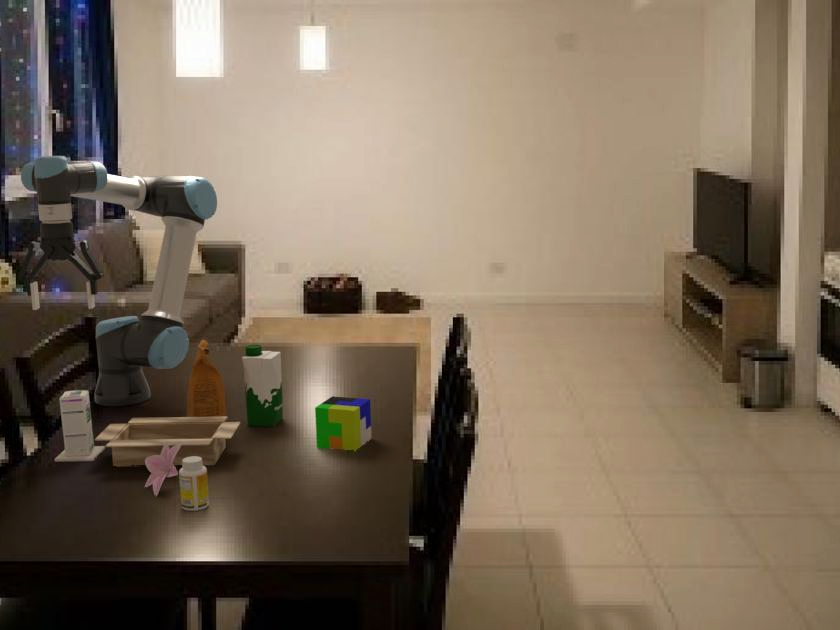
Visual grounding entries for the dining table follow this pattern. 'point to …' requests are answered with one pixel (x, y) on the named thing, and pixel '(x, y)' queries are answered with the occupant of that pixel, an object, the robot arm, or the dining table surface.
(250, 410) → the milk carton
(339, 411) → the puzzle toy
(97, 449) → the plate
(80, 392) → the syrup box
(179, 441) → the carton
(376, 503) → the dining table surface
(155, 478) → the lily
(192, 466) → the supplement bottle
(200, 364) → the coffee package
